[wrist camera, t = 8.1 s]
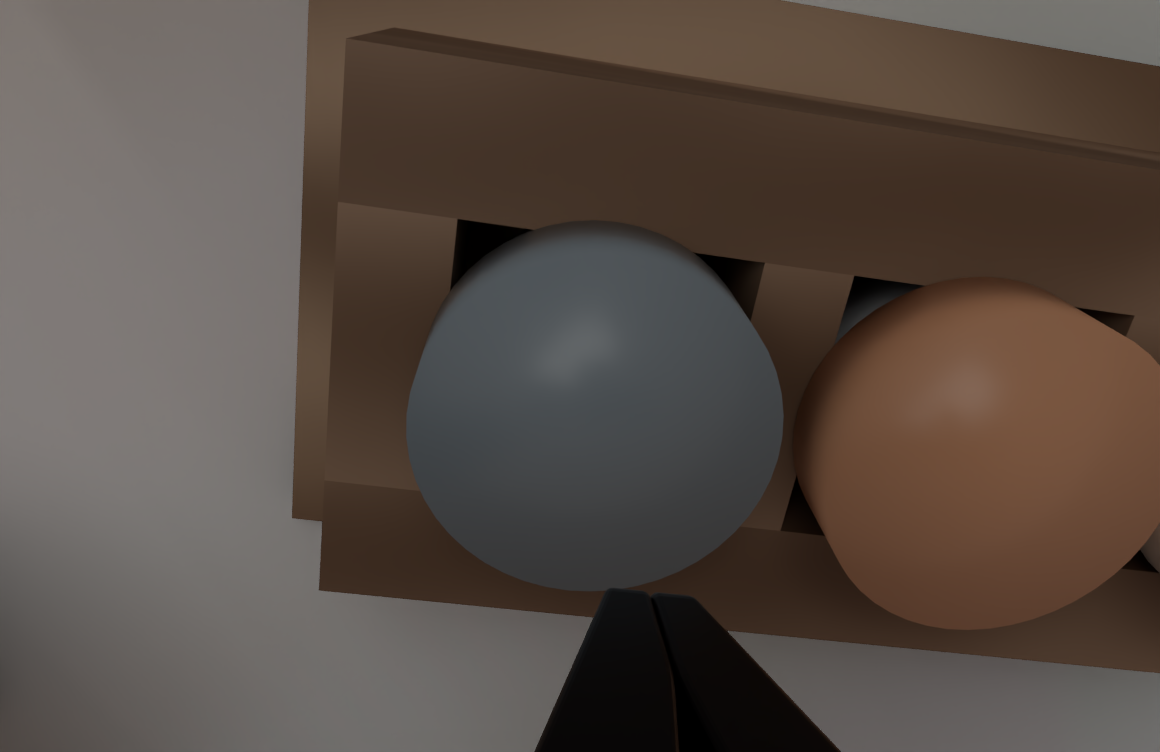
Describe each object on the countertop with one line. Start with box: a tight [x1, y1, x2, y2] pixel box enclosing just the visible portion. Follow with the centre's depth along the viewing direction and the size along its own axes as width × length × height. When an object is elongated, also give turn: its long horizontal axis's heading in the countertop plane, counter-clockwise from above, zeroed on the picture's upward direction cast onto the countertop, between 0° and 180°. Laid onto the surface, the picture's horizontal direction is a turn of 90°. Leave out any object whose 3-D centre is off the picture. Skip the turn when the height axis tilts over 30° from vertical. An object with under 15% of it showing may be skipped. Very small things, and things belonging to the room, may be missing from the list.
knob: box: [406, 220, 784, 591], centre depth 15 cm, size 5×5×5 cm
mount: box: [292, 0, 1160, 673], centre depth 17 cm, size 12×23×5 cm, turn 81°
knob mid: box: [793, 276, 1160, 630], centre depth 15 cm, size 5×5×5 cm
